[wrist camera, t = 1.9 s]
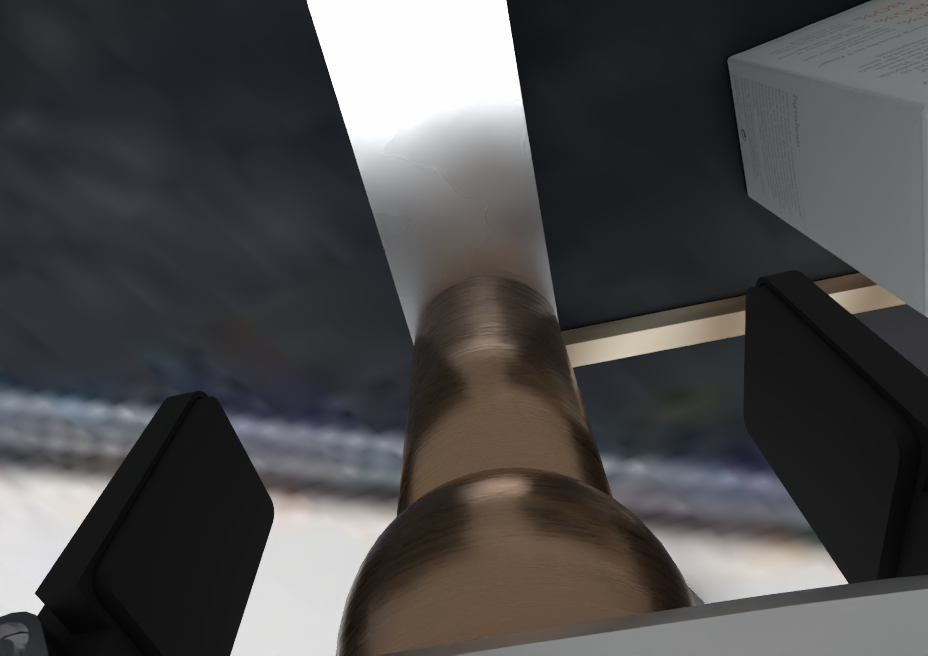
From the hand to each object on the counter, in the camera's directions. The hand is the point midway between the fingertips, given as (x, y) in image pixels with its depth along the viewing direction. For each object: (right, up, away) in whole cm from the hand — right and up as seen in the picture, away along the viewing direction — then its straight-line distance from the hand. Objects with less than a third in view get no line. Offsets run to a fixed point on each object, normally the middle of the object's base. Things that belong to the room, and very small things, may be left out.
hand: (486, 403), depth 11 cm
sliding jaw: (0, +7, +11) cm, 13 cm away
